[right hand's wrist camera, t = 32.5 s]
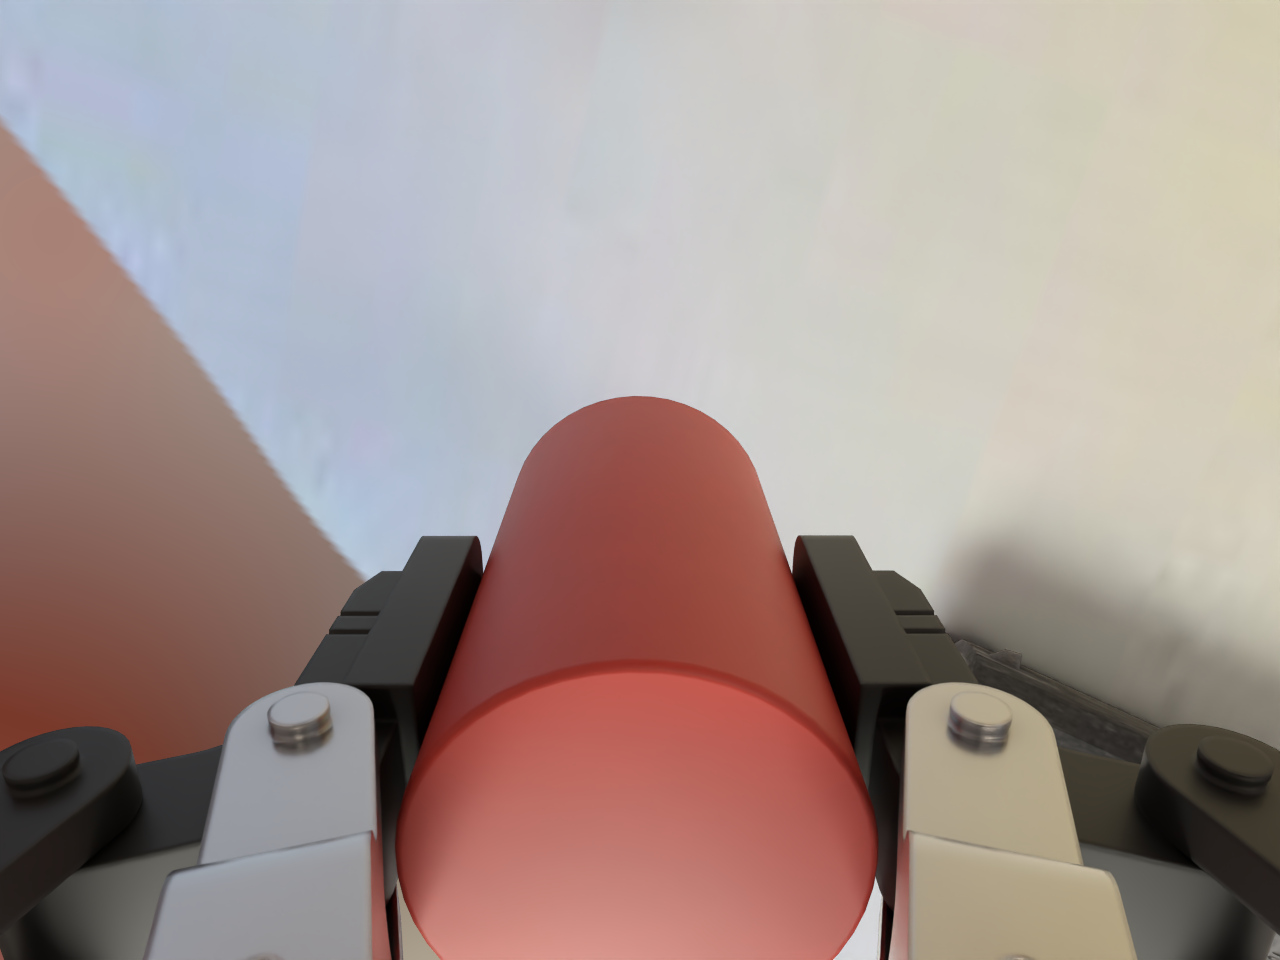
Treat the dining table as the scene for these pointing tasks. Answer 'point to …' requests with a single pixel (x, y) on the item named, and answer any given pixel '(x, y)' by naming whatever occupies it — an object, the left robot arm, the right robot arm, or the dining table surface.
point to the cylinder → (637, 721)
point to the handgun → (1067, 712)
